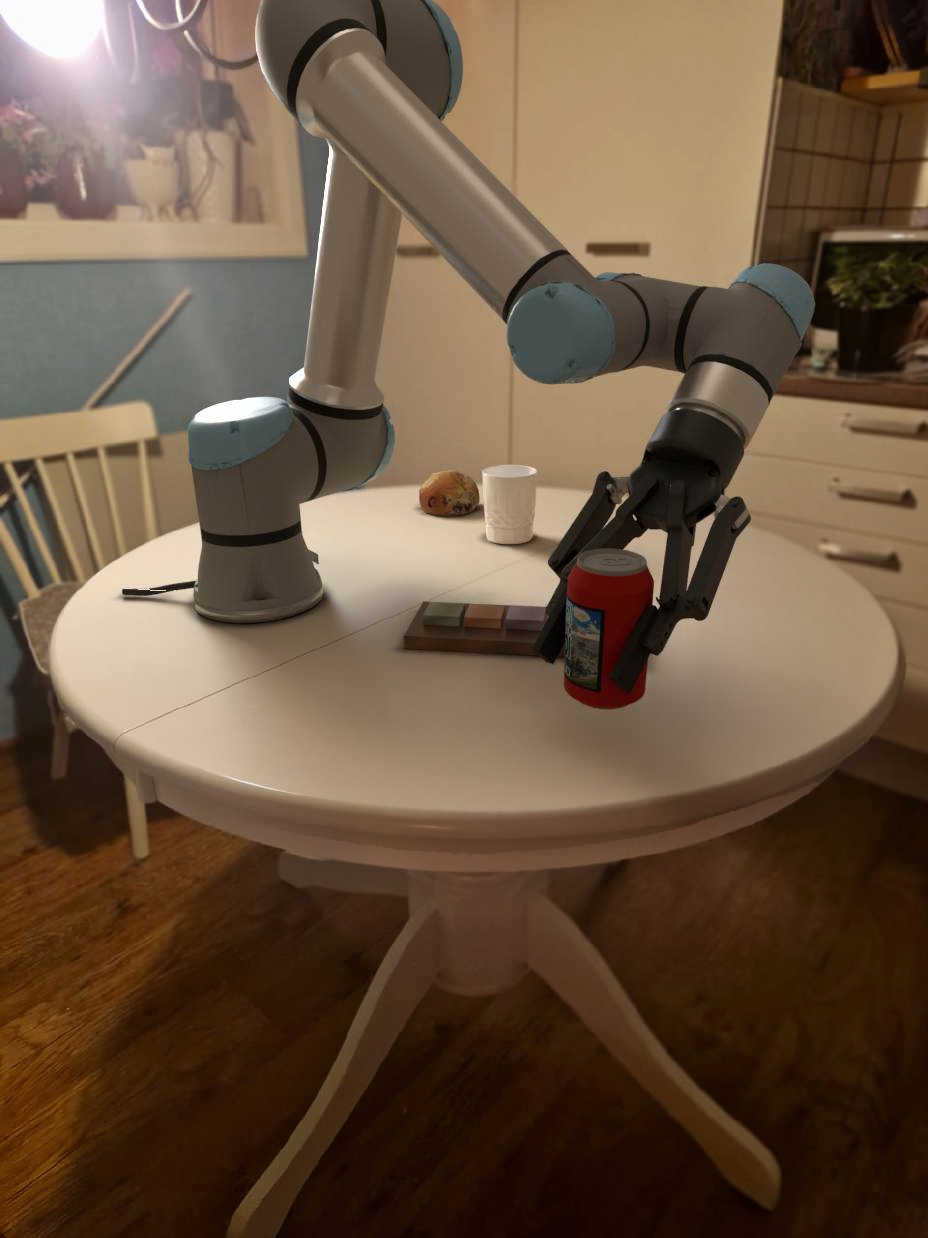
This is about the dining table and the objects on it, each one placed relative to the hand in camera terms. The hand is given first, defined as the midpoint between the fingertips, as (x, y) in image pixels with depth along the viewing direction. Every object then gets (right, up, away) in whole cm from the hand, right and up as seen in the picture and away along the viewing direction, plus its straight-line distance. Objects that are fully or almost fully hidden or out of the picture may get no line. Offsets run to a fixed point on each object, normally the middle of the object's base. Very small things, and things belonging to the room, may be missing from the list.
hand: (580, 670), depth 68 cm
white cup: (-3, +16, +59) cm, 61 cm away
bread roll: (-12, +22, +74) cm, 78 cm away
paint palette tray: (-3, +2, +26) cm, 27 cm away
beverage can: (+2, -3, +4) cm, 5 cm away
